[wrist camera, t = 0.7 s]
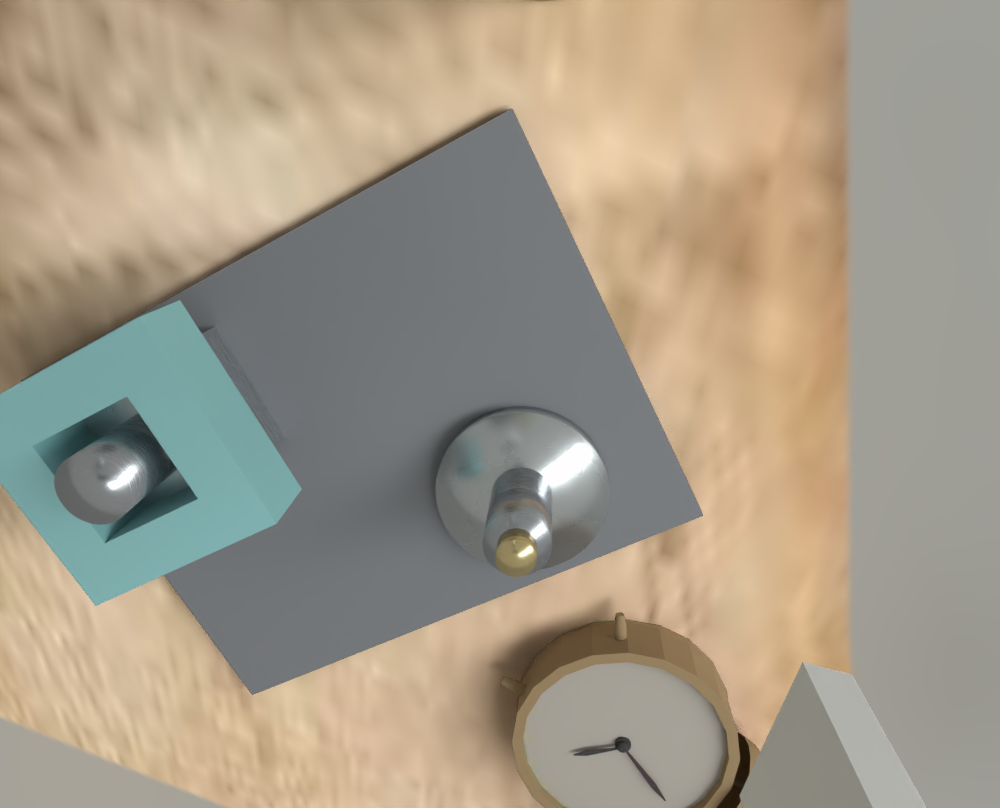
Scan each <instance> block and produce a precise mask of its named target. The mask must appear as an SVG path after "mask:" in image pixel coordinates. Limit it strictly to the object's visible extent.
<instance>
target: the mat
mask: <svg viewBox="0 0 1000 808" xmlns="http://www.w3.org/2000/svg"><path fill="white" fill-rule="evenodd" d="M179 300H180V301H181V302H182V304H183V305H184V307H185V309H186V310H187V312H188V313H189V315H190V316H191V318H192V319H193V321H194V323H195V324H196V326H197V327H198V329H199V330H200V332H201V333H204V332H206V331H208V330H210V329H211V328H213V327H216V328H217V330H218V331H219V333H220V335H221V336H222V338H223V339H224V341H225V342H226V344H227V345H228V347H229V349H230V350H231V352H232V353H233V355H234V356H235V358H236V360H237V361H238V363H239V364H240V366H241V367H242V369H243V371H244V372H245V374H246V375H247V377H248V378H249V380H250V382H251V383H252V385H253V386H254V388H255V389H256V391H257V393H258V394H259V396H260V397H261V399H262V400H263V402H264V404H265V405H266V407H267V408H268V410H269V411H270V413H271V415H272V416H273V418H274V419H275V421H276V422H277V424H278V426H279V427H280V429H281V430H282V432H283V433H284V435H285V437H286V439H285V440H284V441H283V442H282V443H281V444H280V445H279V446H278V447H277V449H276V450H277V451H278V453H279V454H280V456H281V457H282V459H283V461H284V462H285V464H286V465H287V467H288V468H289V470H290V471H291V473H292V475H293V476H294V478H295V479H296V481H297V482H298V484H299V485H300V487H301V489H302V490H301V491H300V492H299V494H298V495H297V496H296V498H295V499H294V501H293V502H292V503H291V505H290V506H289V507H288V509H287V510H286V511H285V513H284V514H283V516H282V517H281V518H280V520H279V521H278V522H277V524H275V525H273V526H270V527H268V528H266V529H264V530H262V531H259V532H257V533H255V534H253V535H251V536H248V537H246V538H244V539H242V540H240V541H237V542H235V543H233V544H231V545H229V546H226V547H224V548H222V549H220V550H218V551H215V552H213V553H211V554H209V555H207V556H204V557H202V558H200V559H198V560H196V561H193V562H191V563H189V564H187V565H185V566H182V567H180V568H178V569H176V570H174V571H171V572H169V573H167V574H165V575H164V576H165V577H166V578H167V580H168V581H169V582H170V584H171V585H172V587H173V588H174V589H175V591H176V592H177V593H178V595H179V596H180V597H181V599H182V600H183V602H184V603H185V604H186V606H187V607H188V608H189V610H190V611H191V612H192V614H193V615H194V616H195V618H196V619H197V621H198V622H199V623H200V625H201V626H202V627H203V629H204V630H205V631H206V633H207V634H208V636H209V637H210V638H211V640H212V641H213V642H214V644H215V645H216V646H217V648H218V649H219V651H220V652H221V653H222V655H223V656H224V657H225V659H226V660H227V661H228V663H229V664H230V666H231V667H232V668H233V670H234V671H235V672H236V674H237V675H238V676H239V678H240V679H241V680H242V682H243V683H244V685H245V686H246V687H247V689H248V690H249V691H250V693H251V694H252V695H253V694H256V693H259V692H261V691H264V690H266V689H269V688H271V687H274V686H276V685H279V684H281V683H284V682H286V681H289V680H291V679H294V678H296V677H299V676H301V675H304V674H306V673H309V672H311V671H314V670H316V669H319V668H321V667H324V666H326V665H329V664H331V663H334V662H336V661H339V660H341V659H344V658H347V657H349V656H352V655H354V654H357V653H359V652H362V651H364V650H367V649H369V648H372V647H374V646H377V645H379V644H382V643H384V642H387V641H389V640H392V639H394V638H397V637H399V636H402V635H404V634H407V633H409V632H412V631H414V630H417V629H419V628H422V627H424V626H427V625H430V624H432V623H435V622H437V621H440V620H442V619H445V618H447V617H450V616H452V615H455V614H457V613H460V612H462V611H465V610H467V609H470V608H472V607H475V606H477V605H480V604H482V603H485V602H487V601H490V600H492V599H495V598H497V597H500V596H502V595H505V594H507V593H510V592H513V591H515V590H518V589H520V588H523V587H525V586H528V585H530V584H533V583H535V582H538V581H540V580H543V579H545V578H548V577H550V576H553V575H555V574H558V573H560V572H563V571H565V570H568V569H570V568H573V567H575V566H578V565H580V564H583V563H585V562H588V561H590V560H593V559H595V558H598V557H601V556H603V555H606V554H608V553H611V552H613V551H616V550H618V549H621V548H623V547H626V546H628V545H631V544H633V543H636V542H638V541H641V540H643V539H646V538H648V537H651V536H653V535H656V534H658V533H661V532H663V531H666V530H668V529H671V528H673V527H676V526H678V525H681V524H684V523H686V522H689V521H691V520H694V519H696V518H699V517H701V516H703V514H702V511H701V509H700V506H699V504H698V502H697V500H696V498H695V496H694V494H693V492H692V489H691V487H690V485H689V483H688V481H687V479H686V477H685V475H684V472H683V470H682V468H681V466H680V464H679V462H678V460H677V458H676V455H675V453H674V451H673V449H672V447H671V445H670V443H669V441H668V438H667V436H666V434H665V432H664V430H663V428H662V426H661V424H660V421H659V419H658V417H657V415H656V413H655V411H654V409H653V407H652V404H651V402H650V400H649V398H648V396H647V394H646V392H645V390H644V387H643V385H642V383H641V381H640V379H639V377H638V375H637V373H636V370H635V368H634V366H633V364H632V362H631V360H630V358H629V356H628V353H627V351H626V349H625V347H624V345H623V343H622V341H621V338H620V336H619V334H618V332H617V330H616V328H615V326H614V324H613V321H612V319H611V317H610V315H609V313H608V311H607V309H606V307H605V304H604V302H603V300H602V298H601V296H600V294H599V292H598V290H597V287H596V285H595V283H594V281H593V279H592V277H591V275H590V273H589V270H588V268H587V266H586V264H585V262H584V260H583V258H582V256H581V253H580V251H579V249H578V247H577V245H576V243H575V241H574V239H573V236H572V234H571V232H570V230H569V228H568V226H567V224H566V222H565V219H564V217H563V215H562V213H561V211H560V209H559V207H558V205H557V202H556V200H555V198H554V196H553V194H552V192H551V190H550V187H549V185H548V183H547V181H546V179H545V177H544V175H543V173H542V170H541V168H540V166H539V164H538V162H537V160H536V158H535V156H534V153H533V151H532V149H531V147H530V145H529V143H528V141H527V139H526V136H525V134H524V132H523V130H522V128H521V126H520V124H519V122H518V119H517V117H516V115H515V113H514V111H513V109H510V110H508V111H506V112H504V113H503V114H501V115H499V116H497V117H495V118H494V119H492V120H490V121H488V122H486V123H485V124H483V125H481V126H479V127H477V128H476V129H474V130H472V131H470V132H468V133H467V134H465V135H463V136H461V137H459V138H458V139H456V140H454V141H452V142H450V143H449V144H447V145H445V146H443V147H441V148H440V149H438V150H436V151H434V152H432V153H430V154H429V155H427V156H425V157H423V158H421V159H420V160H418V161H416V162H414V163H412V164H411V165H409V166H407V167H405V168H403V169H402V170H400V171H398V172H396V173H394V174H393V175H391V176H389V177H387V178H385V179H384V180H382V181H380V182H378V183H376V184H375V185H373V186H371V187H369V188H367V189H366V190H364V191H362V192H360V193H358V194H357V195H355V196H353V197H351V198H349V199H348V200H346V201H344V202H342V203H340V204H339V205H337V206H335V207H333V208H331V209H330V210H328V211H326V212H324V213H322V214H321V215H319V216H317V217H315V218H313V219H311V220H310V221H308V222H306V223H304V224H302V225H301V226H299V227H297V228H295V229H293V230H292V231H290V232H288V233H286V234H284V235H283V236H281V237H279V238H277V239H275V240H274V241H272V242H270V243H268V244H266V245H265V246H263V247H261V248H259V249H257V250H256V251H254V252H252V253H250V254H248V255H247V256H245V257H243V258H241V259H239V260H238V261H236V262H234V263H232V264H230V265H229V266H227V267H225V268H223V269H221V270H220V271H218V272H216V273H214V274H212V275H211V276H209V277H207V278H205V279H203V280H202V281H200V282H198V283H196V284H194V285H192V286H191V287H189V288H187V289H185V290H183V291H182V292H180V293H178V294H176V295H174V296H173V297H171V298H169V299H167V300H165V301H164V302H162V303H160V304H158V305H156V306H155V307H153V308H151V309H149V310H147V311H146V312H144V313H142V314H140V315H138V316H137V317H135V318H133V319H131V320H129V321H128V322H126V323H124V324H122V325H120V326H119V327H117V328H115V329H113V330H111V331H110V332H108V333H106V334H104V335H102V336H101V337H99V338H97V339H95V340H93V341H92V342H90V343H88V344H86V345H84V346H83V347H81V348H79V349H77V350H75V351H73V352H72V353H70V354H68V355H66V356H64V357H63V358H61V359H59V360H57V361H55V362H54V363H52V364H50V365H48V366H46V367H45V368H43V369H41V370H39V371H37V372H36V373H34V374H32V375H30V376H28V377H27V378H25V379H23V380H21V381H22V382H23V381H24V380H26V379H28V378H30V377H32V376H33V375H35V374H37V373H39V372H41V371H42V370H44V369H46V368H48V367H50V366H52V365H53V364H55V363H57V362H59V361H61V360H62V359H64V358H66V357H68V356H70V355H71V354H73V353H75V352H77V351H79V350H80V349H82V348H84V347H86V346H88V345H89V344H91V343H93V342H95V341H97V340H98V339H100V338H102V337H104V336H106V335H107V334H109V333H111V332H113V331H115V330H116V329H118V328H120V327H122V326H124V325H126V324H127V323H129V322H131V321H133V320H135V319H136V318H138V317H140V316H143V315H145V314H148V313H150V312H152V311H155V310H157V309H160V308H162V307H164V306H167V305H169V304H172V303H174V302H176V301H179ZM514 406H529V407H537V408H542V409H546V410H550V411H552V412H555V413H557V414H560V415H562V416H564V417H566V418H568V419H569V420H571V421H572V422H574V423H575V424H577V425H578V426H579V427H581V428H582V429H583V430H584V431H585V432H586V433H587V434H588V435H589V436H590V438H591V439H592V440H593V442H594V443H595V444H596V446H597V448H598V449H599V451H600V453H601V455H602V458H603V460H604V463H605V466H606V470H607V475H608V482H609V491H610V494H609V506H608V511H607V515H606V517H605V520H604V523H603V525H602V527H601V529H600V531H599V532H598V534H597V535H596V537H595V538H594V539H593V541H592V542H591V543H590V544H589V545H588V546H587V547H586V548H585V549H584V550H582V551H581V552H580V553H579V554H577V555H576V556H574V557H573V558H571V559H569V560H567V561H565V562H563V563H561V564H559V565H556V566H553V567H550V568H545V569H540V570H538V571H537V572H534V573H532V574H529V575H525V576H522V577H512V576H508V575H506V574H504V573H502V572H500V571H498V570H497V569H495V568H494V567H493V566H492V565H491V564H488V563H485V562H483V561H482V560H480V559H478V558H476V557H474V556H473V555H471V554H470V553H468V552H467V551H466V550H465V549H463V548H462V547H461V546H460V545H459V544H458V543H457V542H456V541H455V540H454V538H453V537H452V536H451V535H450V533H449V532H448V530H447V529H446V527H445V525H444V523H443V521H442V519H441V517H440V514H439V511H438V507H437V502H436V490H435V488H436V478H437V474H438V470H439V467H440V464H441V461H442V459H443V456H444V454H445V451H446V449H447V447H448V446H449V444H450V442H451V441H452V440H453V438H454V437H455V436H456V434H457V433H458V432H459V431H460V430H461V429H462V428H463V427H465V426H466V425H467V424H468V423H470V422H471V421H473V420H474V419H476V418H478V417H479V416H481V415H483V414H486V413H488V412H491V411H493V410H497V409H501V408H505V407H514Z"/></svg>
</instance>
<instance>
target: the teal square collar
mask: <svg viewBox="0 0 1000 808" xmlns="http://www.w3.org/2000/svg"><path fill="white" fill-rule="evenodd" d="M125 397H128V399H129V400H130V401H131V403H132V404H133V406H134V407H135V409H136V410H137V411H138V413H139V414H140V416H141V417H142V419H143V420H144V422H145V423H146V424H147V426H148V427H149V429H150V430H151V432H152V433H153V435H154V436H155V437H156V439H157V440H158V442H159V443H160V445H161V446H162V447H163V449H164V450H165V452H166V453H167V455H168V456H169V458H170V459H171V460H172V462H173V463H174V465H175V466H176V468H177V469H178V471H179V472H180V473H181V475H182V476H183V478H184V479H185V481H186V482H187V484H188V485H189V487H187V488H185V489H183V490H181V491H179V492H177V493H175V494H173V495H171V496H168V497H166V498H164V499H162V500H160V501H158V502H156V503H154V504H152V505H150V506H148V507H146V508H145V507H144V506H143V504H142V503H141V501H140V502H139V503H138V504H136V505H135V506H134V507H133V508H132V509H131V510H129V511H128V512H127V513H126V514H125V515H124V516H122V517H121V518H120V519H119V520H117V521H115V522H113V523H110V524H104V525H97V524H91V523H87V522H85V521H82V520H80V519H78V518H77V517H75V516H74V515H72V514H71V513H70V512H69V511H68V510H67V509H66V508H65V507H64V506H63V505H62V503H61V502H60V500H59V498H58V496H57V494H56V491H55V485H54V478H55V473H56V471H57V469H58V467H59V466H60V464H61V463H62V462H63V461H65V460H66V459H68V458H69V457H71V456H72V455H74V454H75V453H77V452H78V451H80V450H82V449H83V448H85V447H86V446H88V445H89V444H91V443H92V442H94V441H96V439H95V438H94V436H93V435H92V434H91V432H90V431H89V429H88V428H87V427H86V425H85V424H84V422H83V421H82V420H83V419H85V418H87V417H89V416H91V415H93V414H94V413H96V412H98V411H100V410H102V409H104V408H106V407H108V406H110V405H112V404H113V403H115V402H117V401H119V400H121V399H123V398H125ZM0 483H1V485H2V486H3V487H4V489H5V490H6V491H7V492H8V494H9V495H10V496H11V498H12V499H13V500H14V501H15V503H16V504H17V505H18V507H19V508H20V509H21V510H22V512H23V513H24V514H25V516H26V517H27V518H28V519H29V521H30V522H31V523H32V525H33V526H34V527H35V528H36V530H37V531H38V532H39V534H40V535H41V536H42V537H43V539H44V540H45V541H46V543H47V544H48V545H49V546H50V548H51V549H52V550H53V552H54V553H55V554H56V555H57V557H58V558H59V559H60V561H61V562H62V563H63V564H64V566H65V567H66V568H67V570H68V571H69V572H70V573H71V575H72V576H73V577H74V579H75V580H76V581H77V582H78V584H79V585H80V586H81V588H82V589H83V590H84V591H85V593H86V594H87V595H88V597H89V598H90V599H91V600H92V602H93V603H94V604H95V606H97V605H99V604H101V603H103V602H105V601H108V600H110V599H112V598H114V597H116V596H119V595H121V594H123V593H125V592H127V591H130V590H132V589H134V588H136V587H138V586H141V585H143V584H145V583H147V582H149V581H152V580H154V579H156V578H158V577H160V576H163V575H165V574H167V573H169V572H171V571H174V570H176V569H178V568H180V567H182V566H185V565H187V564H189V563H191V562H193V561H196V560H198V559H200V558H202V557H204V556H207V555H209V554H211V553H213V552H215V551H218V550H220V549H222V548H224V547H226V546H229V545H231V544H233V543H235V542H237V541H240V540H242V539H244V538H246V537H248V536H251V535H253V534H255V533H257V532H259V531H262V530H264V529H266V528H268V527H270V526H273V525H275V524H277V522H278V521H279V520H280V518H281V517H282V516H283V514H284V513H285V511H286V510H287V509H288V507H289V506H290V505H291V503H292V502H293V501H294V499H295V498H296V496H297V495H298V494H299V492H300V491H301V490H302V489H301V487H300V485H299V484H298V482H297V481H296V479H295V478H294V476H293V475H292V473H291V471H290V470H289V468H288V467H287V465H286V464H285V462H284V461H283V459H282V457H281V456H280V454H279V453H278V451H277V450H276V448H275V447H274V445H273V444H272V442H271V440H270V439H269V437H268V436H267V434H266V433H265V431H264V430H263V428H262V426H261V425H260V423H259V422H258V420H257V419H256V417H255V416H254V414H253V412H252V411H251V409H250V408H249V406H248V405H247V403H246V402H245V400H244V399H243V397H242V395H241V394H240V392H239V391H238V389H237V388H236V386H235V385H234V383H233V381H232V380H231V378H230V377H229V375H228V374H227V372H226V371H225V369H224V368H223V366H222V364H221V363H220V361H219V360H218V358H217V357H216V355H215V354H214V352H213V350H212V349H211V347H210V346H209V344H208V343H207V341H206V340H205V338H204V336H203V335H202V333H201V332H200V330H199V329H198V327H197V326H196V324H195V323H194V321H193V319H192V318H191V316H190V315H189V313H188V312H187V310H186V309H185V307H184V305H183V304H182V302H181V301H180V300H179V301H176V302H174V303H172V304H169V305H167V306H164V307H162V308H160V309H157V310H155V311H152V312H150V313H148V314H145V315H143V316H140V317H138V318H136V319H135V320H133V321H131V322H129V323H127V324H126V325H124V326H122V327H120V328H118V329H116V330H115V331H113V332H111V333H109V334H107V335H106V336H104V337H102V338H100V339H98V340H97V341H95V342H93V343H91V344H89V345H88V346H86V347H84V348H82V349H80V350H79V351H77V352H75V353H73V354H71V355H70V356H68V357H66V358H64V359H62V360H61V361H59V362H57V363H55V364H53V365H52V366H50V367H48V368H46V369H44V370H42V371H41V372H39V373H37V374H35V375H33V376H32V377H30V378H28V379H26V380H24V381H23V382H21V383H19V384H17V385H15V386H14V387H12V388H10V389H8V390H6V391H5V392H3V393H1V394H0Z"/></svg>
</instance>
